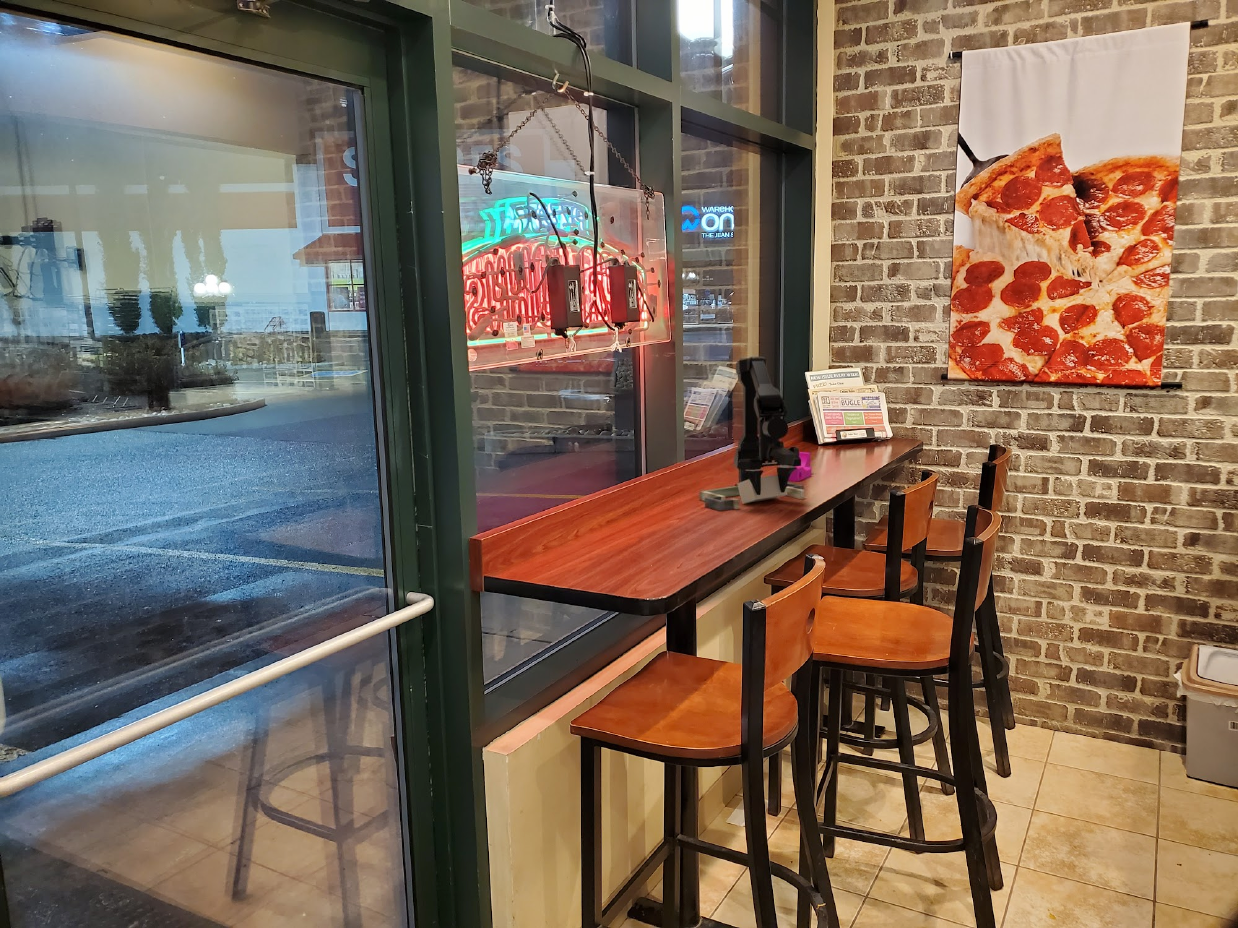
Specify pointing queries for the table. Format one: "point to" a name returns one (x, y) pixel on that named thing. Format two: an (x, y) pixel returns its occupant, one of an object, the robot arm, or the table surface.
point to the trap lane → (717, 496)
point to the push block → (768, 490)
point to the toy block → (801, 468)
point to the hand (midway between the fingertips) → (770, 493)
